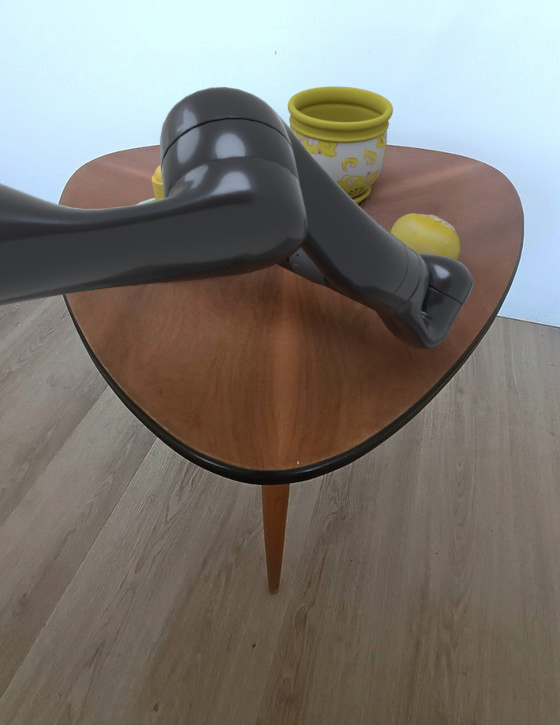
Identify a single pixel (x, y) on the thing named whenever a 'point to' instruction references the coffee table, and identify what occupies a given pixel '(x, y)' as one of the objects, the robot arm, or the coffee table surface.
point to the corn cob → (158, 184)
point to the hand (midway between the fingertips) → (219, 205)
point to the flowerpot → (343, 133)
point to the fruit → (427, 235)
